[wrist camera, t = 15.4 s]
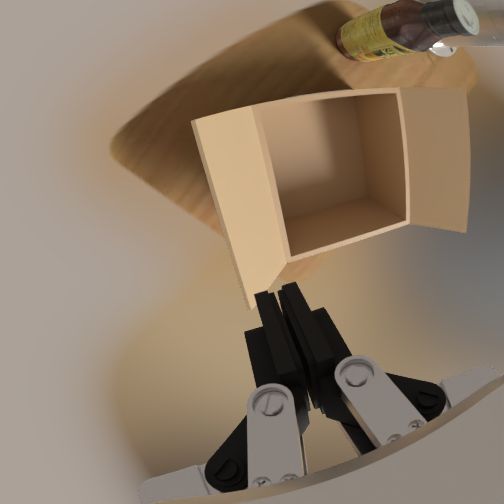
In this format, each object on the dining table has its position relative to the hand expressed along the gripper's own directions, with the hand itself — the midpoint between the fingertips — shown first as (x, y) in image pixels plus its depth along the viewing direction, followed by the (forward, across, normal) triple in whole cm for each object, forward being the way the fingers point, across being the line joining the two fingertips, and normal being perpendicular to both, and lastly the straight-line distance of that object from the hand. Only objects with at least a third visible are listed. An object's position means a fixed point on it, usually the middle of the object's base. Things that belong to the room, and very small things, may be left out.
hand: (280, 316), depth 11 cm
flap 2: (+14, -22, 0) cm, 26 cm away
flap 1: (+14, -1, 0) cm, 14 cm away
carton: (+27, -11, 0) cm, 29 cm away
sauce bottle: (+27, -21, -15) cm, 37 cm away
